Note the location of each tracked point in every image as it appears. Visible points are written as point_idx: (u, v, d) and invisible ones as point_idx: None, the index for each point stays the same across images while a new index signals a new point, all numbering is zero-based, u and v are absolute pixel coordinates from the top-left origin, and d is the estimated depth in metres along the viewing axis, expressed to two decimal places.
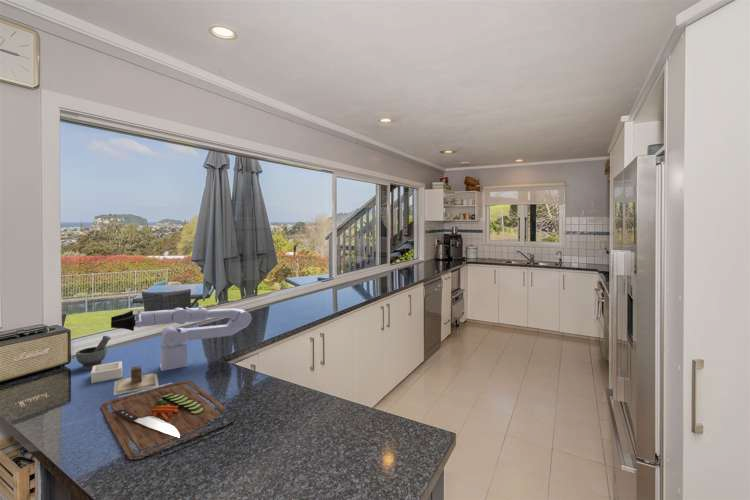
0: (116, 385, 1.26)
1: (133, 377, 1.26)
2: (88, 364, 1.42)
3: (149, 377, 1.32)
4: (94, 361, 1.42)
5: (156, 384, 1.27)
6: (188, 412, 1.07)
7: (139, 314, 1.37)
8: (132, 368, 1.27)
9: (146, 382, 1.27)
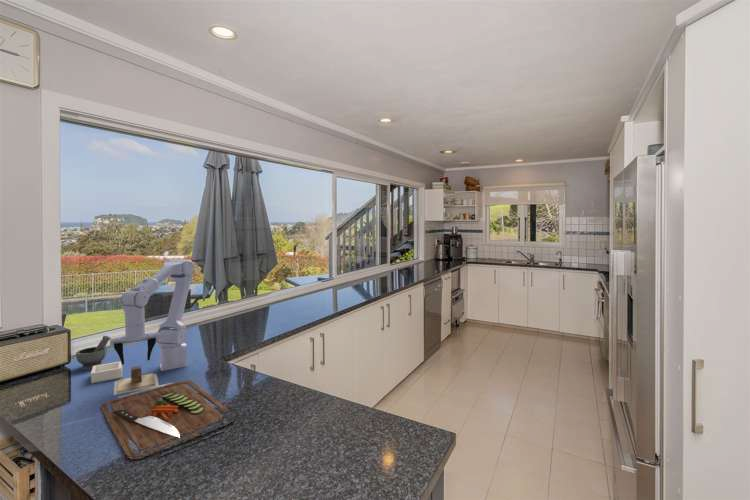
0: (116, 385, 1.26)
1: (133, 377, 1.26)
2: (88, 364, 1.42)
3: (149, 377, 1.32)
4: (94, 361, 1.42)
5: (156, 384, 1.27)
6: (188, 412, 1.07)
7: (142, 338, 1.26)
8: (132, 368, 1.27)
9: (146, 382, 1.27)
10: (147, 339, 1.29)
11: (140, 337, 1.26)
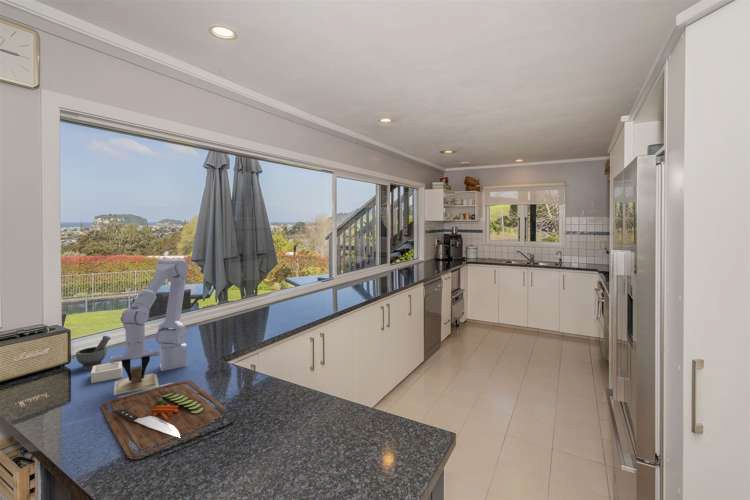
0: (116, 385, 1.26)
1: (133, 377, 1.26)
2: (88, 364, 1.42)
3: (149, 377, 1.32)
4: (94, 361, 1.42)
5: (156, 384, 1.27)
6: (188, 412, 1.07)
7: (143, 355, 1.27)
8: (132, 368, 1.27)
9: (146, 382, 1.27)
10: None
11: (140, 354, 1.26)
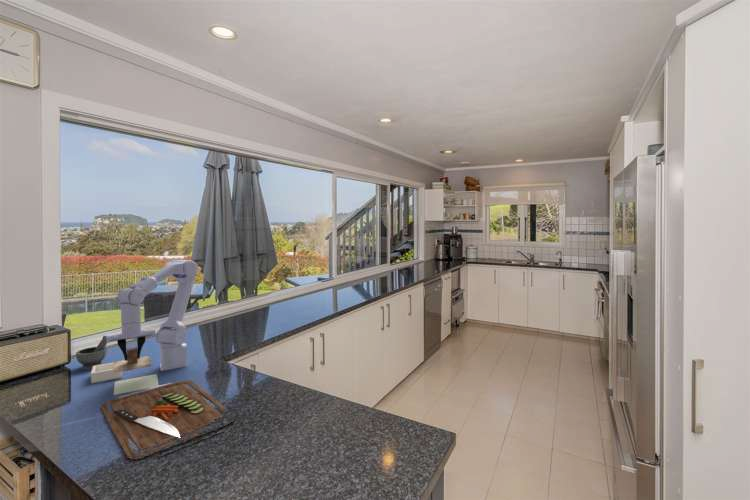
0: (116, 385, 1.26)
1: (129, 358, 1.27)
2: (88, 364, 1.42)
3: (145, 359, 1.32)
4: (94, 361, 1.42)
5: (156, 384, 1.27)
6: (188, 412, 1.07)
7: (138, 335, 1.27)
8: (128, 349, 1.28)
9: (142, 363, 1.28)
10: (143, 336, 1.30)
11: (136, 334, 1.27)
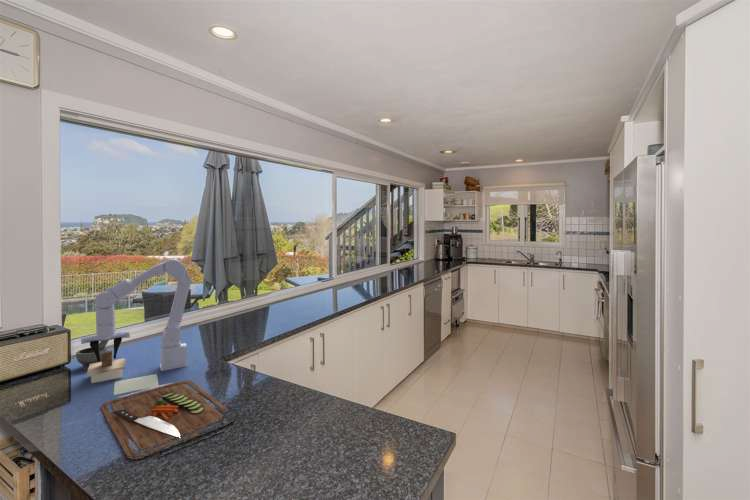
0: (116, 385, 1.26)
1: (103, 361, 1.32)
2: (88, 364, 1.42)
3: (120, 361, 1.38)
4: (94, 361, 1.42)
5: (156, 384, 1.27)
6: (188, 412, 1.07)
7: (112, 336, 1.33)
8: (102, 352, 1.33)
9: (116, 366, 1.33)
10: (118, 338, 1.36)
11: (110, 336, 1.32)
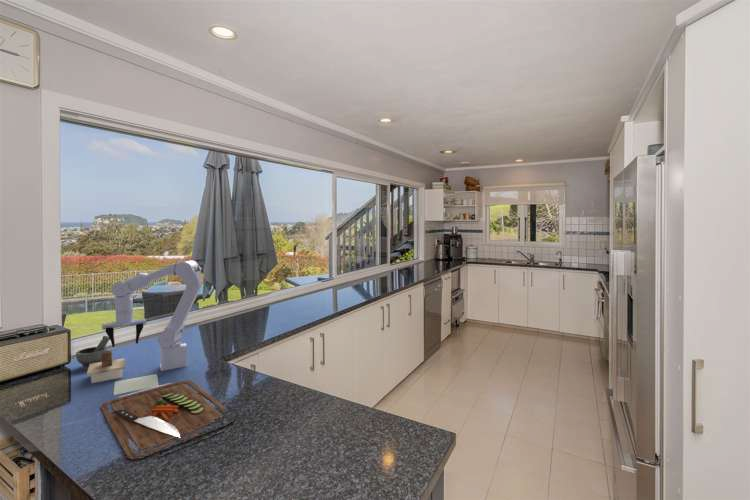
0: (116, 385, 1.26)
1: (103, 361, 1.32)
2: (88, 364, 1.42)
3: (120, 361, 1.38)
4: (94, 361, 1.42)
5: (156, 384, 1.27)
6: (188, 412, 1.07)
7: (131, 323, 1.41)
8: (102, 352, 1.33)
9: (116, 366, 1.33)
10: (135, 324, 1.44)
11: (129, 322, 1.41)
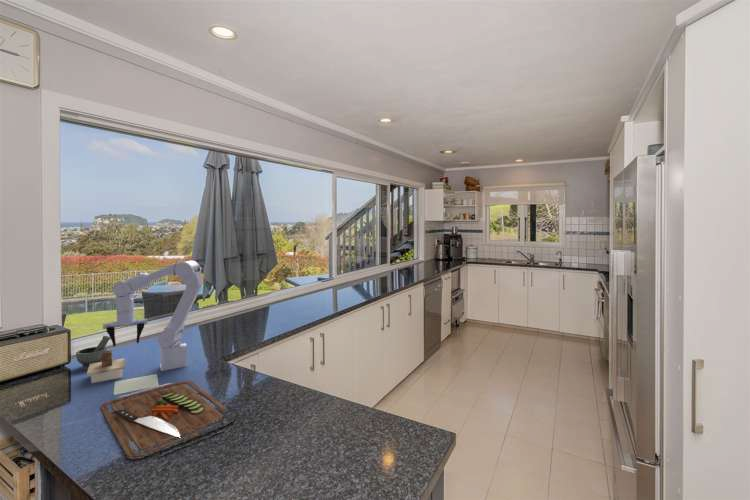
0: (116, 385, 1.26)
1: (103, 361, 1.32)
2: (88, 364, 1.42)
3: (120, 361, 1.38)
4: (94, 361, 1.42)
5: (156, 384, 1.27)
6: (188, 412, 1.07)
7: (132, 323, 1.42)
8: (102, 352, 1.33)
9: (116, 366, 1.33)
10: (136, 324, 1.45)
11: (130, 322, 1.42)
